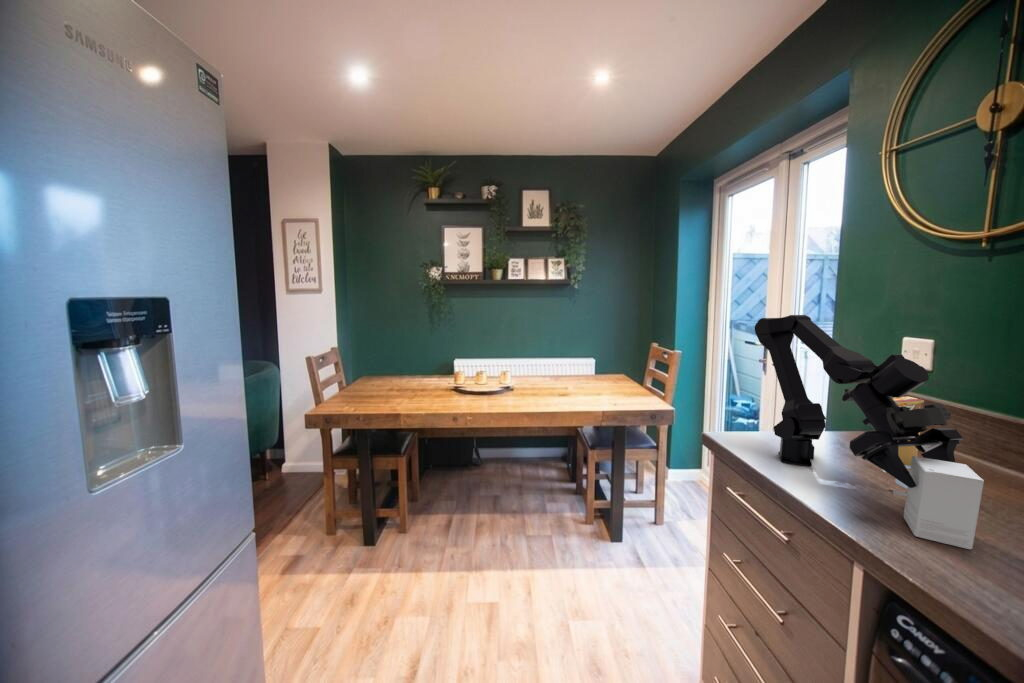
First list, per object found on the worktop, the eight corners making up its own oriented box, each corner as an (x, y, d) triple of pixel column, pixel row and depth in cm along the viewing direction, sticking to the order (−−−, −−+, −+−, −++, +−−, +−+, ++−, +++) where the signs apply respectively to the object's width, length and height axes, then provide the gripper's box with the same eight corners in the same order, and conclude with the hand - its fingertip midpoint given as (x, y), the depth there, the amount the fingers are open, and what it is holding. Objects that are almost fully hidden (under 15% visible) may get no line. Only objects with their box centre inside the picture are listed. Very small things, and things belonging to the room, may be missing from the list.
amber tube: (892, 463, 99) (897, 415, 98) (884, 456, 104) (889, 410, 102) (920, 467, 97) (926, 418, 95) (911, 459, 101) (917, 412, 100)
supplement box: (973, 551, 68) (986, 481, 66) (913, 536, 72) (923, 470, 70) (956, 528, 74) (967, 463, 72) (902, 516, 78) (911, 454, 76)
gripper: (868, 390, 75) (929, 471, 65) (956, 386, 77) (1028, 465, 67) (828, 418, 84) (876, 494, 74) (908, 415, 86) (965, 488, 76)
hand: (936, 485), depth 73 cm, fingers open, 9 cm apart
